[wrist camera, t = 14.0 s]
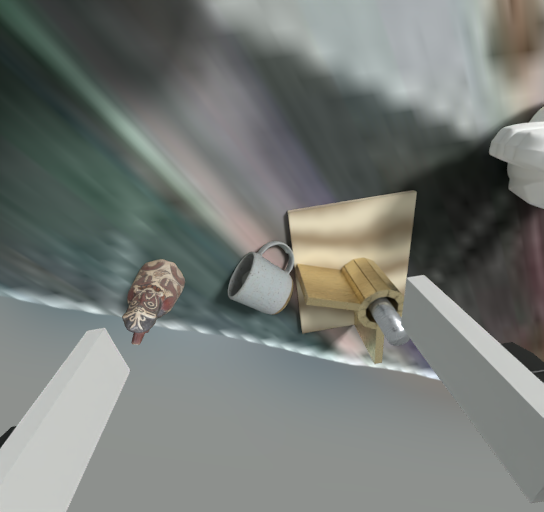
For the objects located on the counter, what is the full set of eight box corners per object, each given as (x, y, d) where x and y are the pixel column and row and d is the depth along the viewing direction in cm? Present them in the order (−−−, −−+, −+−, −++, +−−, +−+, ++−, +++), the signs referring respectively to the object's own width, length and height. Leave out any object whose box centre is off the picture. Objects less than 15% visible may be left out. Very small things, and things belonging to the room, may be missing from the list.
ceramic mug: (268, 298, 47) (272, 329, 40) (227, 278, 44) (224, 307, 37) (304, 252, 43) (315, 277, 37) (262, 227, 41) (266, 249, 34)
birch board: (287, 210, 40) (288, 213, 39) (413, 190, 40) (416, 191, 39) (301, 329, 51) (302, 333, 50) (399, 313, 51) (401, 316, 50)
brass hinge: (294, 264, 43) (305, 297, 35) (379, 250, 43) (409, 280, 35) (302, 332, 50) (313, 374, 42) (375, 320, 50) (399, 359, 42)
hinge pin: (349, 269, 44) (388, 329, 32) (367, 266, 44) (413, 325, 32) (349, 284, 46) (387, 347, 33) (366, 281, 46) (410, 343, 33)
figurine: (189, 267, 43) (171, 317, 32) (179, 300, 46) (159, 357, 35) (143, 254, 41) (107, 302, 30) (136, 290, 44) (101, 345, 33)
